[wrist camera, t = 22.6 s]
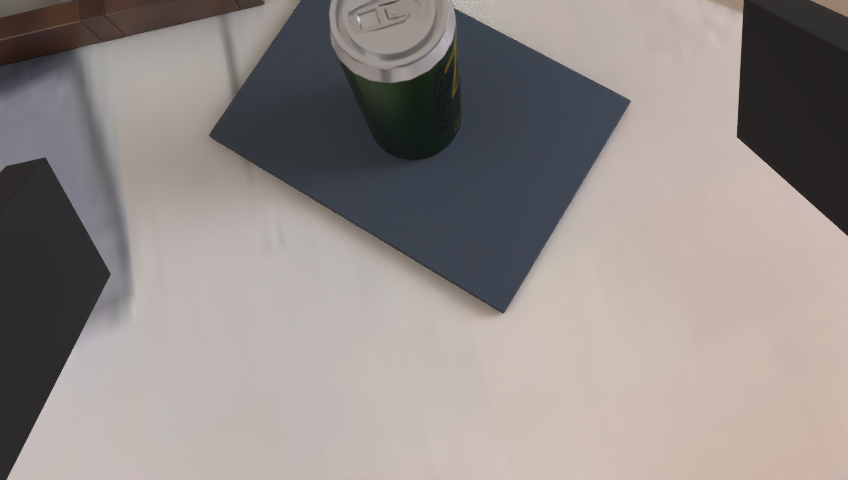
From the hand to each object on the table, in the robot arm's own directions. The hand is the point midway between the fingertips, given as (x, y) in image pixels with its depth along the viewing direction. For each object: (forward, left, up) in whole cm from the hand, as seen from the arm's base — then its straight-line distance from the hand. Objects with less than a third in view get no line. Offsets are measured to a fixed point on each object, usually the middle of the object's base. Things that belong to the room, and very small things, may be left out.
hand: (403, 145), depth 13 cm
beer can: (-7, +8, -25) cm, 27 cm away
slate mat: (-7, +8, -26) cm, 28 cm away
